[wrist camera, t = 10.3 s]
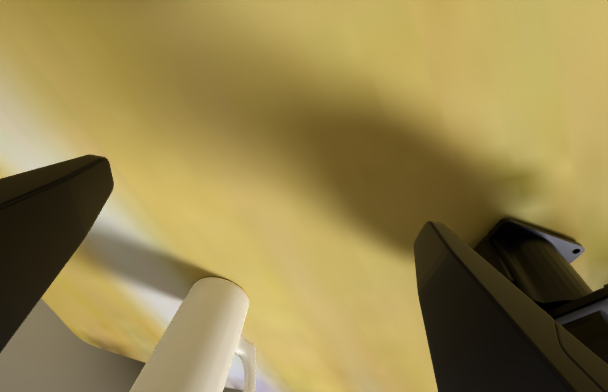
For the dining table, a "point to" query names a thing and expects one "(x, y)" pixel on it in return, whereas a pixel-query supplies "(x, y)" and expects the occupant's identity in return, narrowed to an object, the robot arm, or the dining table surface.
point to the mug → (202, 342)
